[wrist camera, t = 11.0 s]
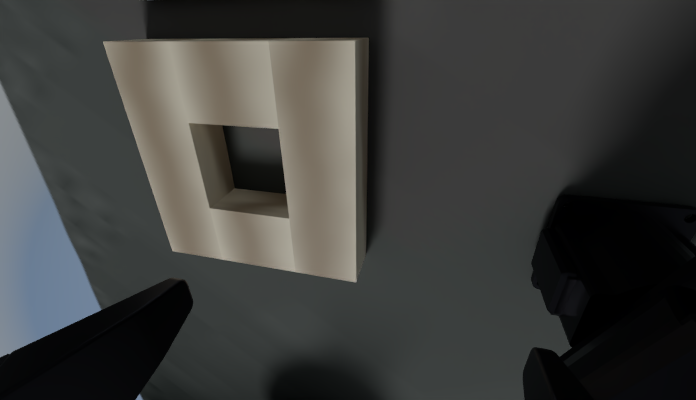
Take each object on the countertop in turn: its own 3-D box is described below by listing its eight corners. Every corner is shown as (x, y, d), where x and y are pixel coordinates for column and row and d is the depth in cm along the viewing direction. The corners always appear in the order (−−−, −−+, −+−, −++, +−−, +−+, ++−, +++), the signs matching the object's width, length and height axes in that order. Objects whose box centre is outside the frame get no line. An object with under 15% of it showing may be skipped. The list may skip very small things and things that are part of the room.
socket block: (368, 37, 17) (355, 40, 15) (366, 254, 24) (356, 282, 21) (146, 38, 20) (102, 41, 18) (198, 229, 27) (172, 251, 24)
